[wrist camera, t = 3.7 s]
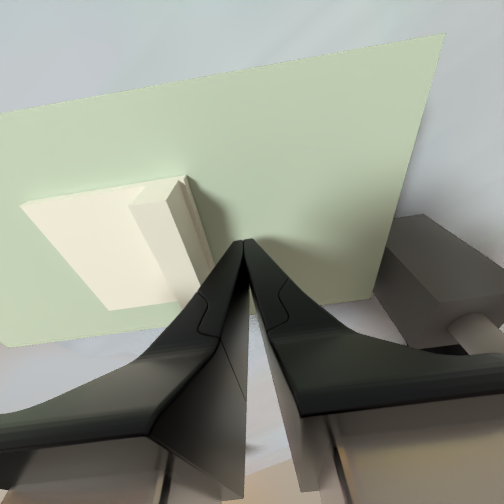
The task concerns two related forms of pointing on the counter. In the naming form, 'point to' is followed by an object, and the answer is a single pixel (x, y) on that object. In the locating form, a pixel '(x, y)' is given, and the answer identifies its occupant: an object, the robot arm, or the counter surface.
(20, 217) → the socket
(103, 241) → the shutter
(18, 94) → the counter surface
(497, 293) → the plug
